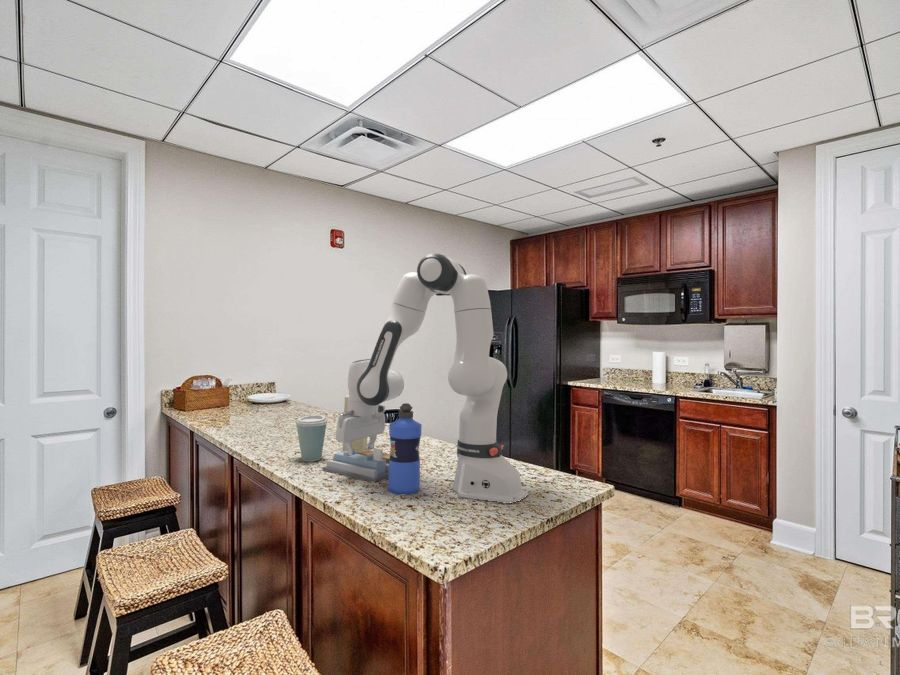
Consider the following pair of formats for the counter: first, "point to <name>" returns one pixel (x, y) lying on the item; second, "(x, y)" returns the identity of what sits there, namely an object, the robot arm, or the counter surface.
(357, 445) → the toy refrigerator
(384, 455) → the brown long rectangular bar
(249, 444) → the counter surface
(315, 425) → the disposable coffee cup
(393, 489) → the water bottle
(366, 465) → the pale blue tabbed body
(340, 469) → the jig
